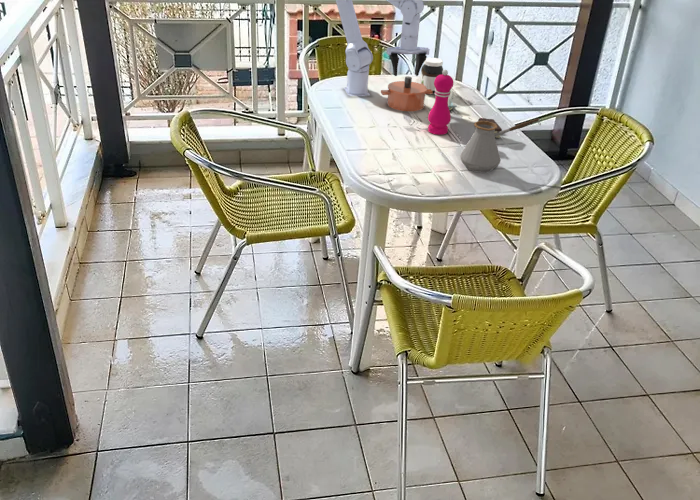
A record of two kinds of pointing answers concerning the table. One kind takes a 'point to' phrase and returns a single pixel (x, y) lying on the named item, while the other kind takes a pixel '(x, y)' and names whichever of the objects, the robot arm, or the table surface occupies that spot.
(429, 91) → the pot
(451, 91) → the pacifier
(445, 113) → the pepper mill
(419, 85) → the lid
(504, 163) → the table surface
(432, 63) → the spread jar
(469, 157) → the coffee pot
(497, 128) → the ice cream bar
